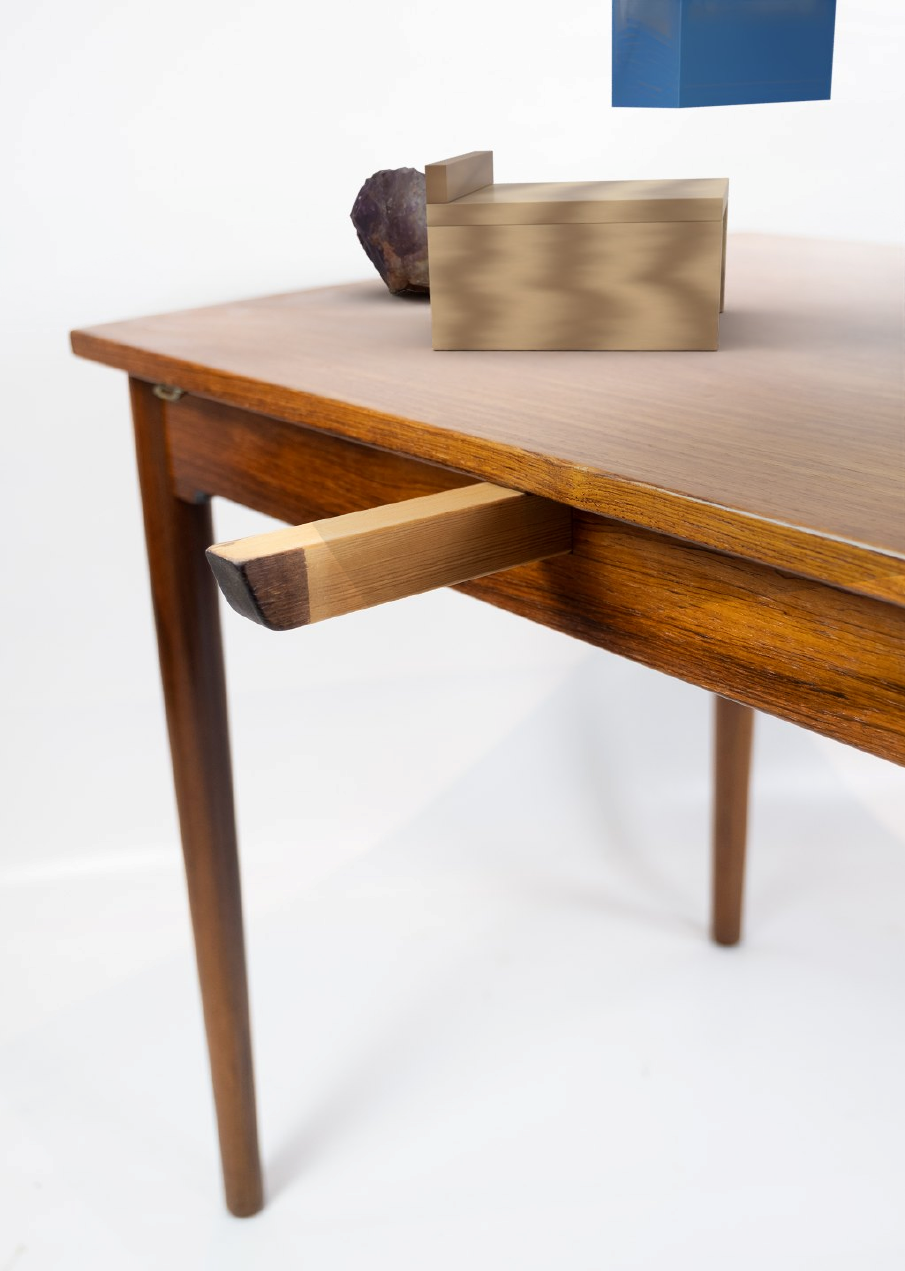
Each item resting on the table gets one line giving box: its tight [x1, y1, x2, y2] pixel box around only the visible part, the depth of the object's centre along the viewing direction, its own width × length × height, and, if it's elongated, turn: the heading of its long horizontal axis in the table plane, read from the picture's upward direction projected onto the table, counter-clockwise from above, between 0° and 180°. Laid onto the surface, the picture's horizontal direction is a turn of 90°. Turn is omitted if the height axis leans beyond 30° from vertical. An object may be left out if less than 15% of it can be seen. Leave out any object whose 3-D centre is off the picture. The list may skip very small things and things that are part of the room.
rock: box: [349, 166, 430, 295], centre depth 96 cm, size 12×9×10 cm
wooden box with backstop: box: [424, 150, 730, 352], centre depth 79 cm, size 16×14×10 cm
